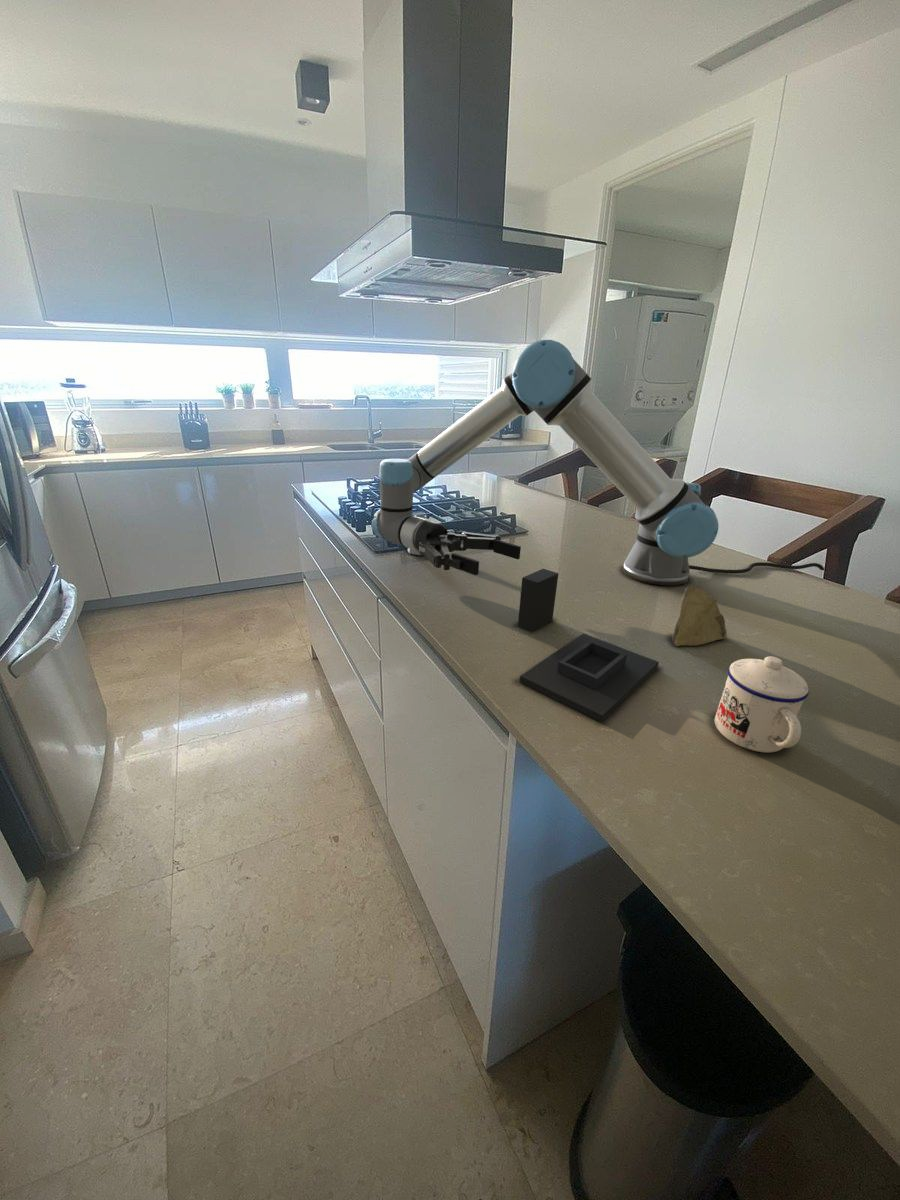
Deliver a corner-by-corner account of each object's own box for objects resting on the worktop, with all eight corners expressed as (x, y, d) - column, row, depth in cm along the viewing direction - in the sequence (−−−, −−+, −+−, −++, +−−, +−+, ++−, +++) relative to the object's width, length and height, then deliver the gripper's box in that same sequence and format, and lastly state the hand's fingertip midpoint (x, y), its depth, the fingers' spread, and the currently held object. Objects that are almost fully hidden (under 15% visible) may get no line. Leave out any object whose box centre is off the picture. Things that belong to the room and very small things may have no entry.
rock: (726, 618, 94) (672, 604, 96) (747, 597, 87) (688, 582, 89) (720, 668, 90) (664, 652, 92) (742, 650, 82) (680, 633, 84)
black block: (537, 614, 99) (543, 568, 95) (552, 619, 97) (558, 573, 93) (517, 625, 94) (522, 577, 90) (532, 631, 92) (538, 582, 88)
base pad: (582, 639, 90) (584, 623, 89) (657, 668, 81) (661, 651, 80) (519, 682, 76) (521, 664, 75) (601, 722, 68) (604, 703, 66)
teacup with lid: (700, 710, 71) (720, 641, 66) (761, 712, 71) (786, 642, 66) (746, 771, 60) (775, 693, 55) (819, 772, 60) (854, 694, 55)
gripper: (461, 541, 120) (532, 563, 107) (383, 565, 103) (456, 594, 90) (462, 511, 117) (536, 530, 104) (382, 530, 100) (458, 556, 87)
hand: (499, 560), depth 97 cm, fingers open, 13 cm apart
